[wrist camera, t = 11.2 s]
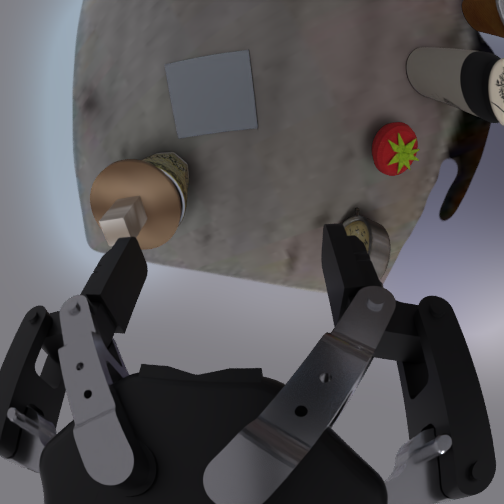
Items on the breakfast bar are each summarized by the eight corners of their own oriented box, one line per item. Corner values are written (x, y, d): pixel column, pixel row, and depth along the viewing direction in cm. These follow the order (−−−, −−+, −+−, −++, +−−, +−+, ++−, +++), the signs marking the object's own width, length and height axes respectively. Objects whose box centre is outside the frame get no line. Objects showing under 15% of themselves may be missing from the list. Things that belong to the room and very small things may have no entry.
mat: (166, 64, 30) (164, 64, 30) (248, 50, 29) (248, 50, 29) (179, 137, 37) (178, 138, 37) (257, 127, 36) (257, 128, 36)
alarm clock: (352, 198, 42) (388, 265, 29) (378, 210, 43) (418, 278, 30) (320, 250, 48) (337, 325, 35) (345, 259, 49) (368, 332, 37)
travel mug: (415, 37, 25) (501, 39, 11) (454, 66, 27) (540, 89, 13) (397, 79, 30) (478, 103, 16) (437, 106, 31) (519, 146, 17)
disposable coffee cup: (451, 21, 22) (502, 21, 13) (456, -21, 16) (504, -29, 7) (491, 51, 23) (541, 62, 13) (496, 10, 17) (544, 13, 8)
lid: (82, 170, 29) (55, 192, 25) (168, 150, 28) (150, 170, 24) (112, 248, 37) (94, 277, 32) (191, 241, 36) (181, 272, 31)
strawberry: (352, 151, 37) (376, 178, 30) (373, 106, 33) (405, 122, 25) (385, 166, 38) (413, 196, 31) (405, 124, 34) (441, 145, 26)
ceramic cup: (198, 138, 37) (180, 162, 29) (202, 201, 43) (189, 238, 35) (116, 145, 37) (82, 170, 29) (127, 202, 43) (101, 237, 36)
